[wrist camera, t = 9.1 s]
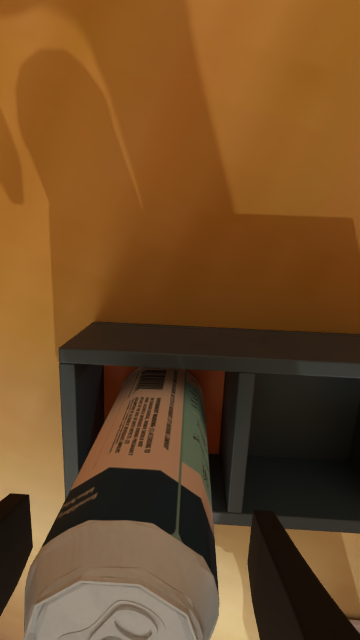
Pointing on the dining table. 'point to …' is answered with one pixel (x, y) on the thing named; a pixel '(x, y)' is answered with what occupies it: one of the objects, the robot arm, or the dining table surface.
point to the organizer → (238, 413)
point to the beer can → (134, 526)
